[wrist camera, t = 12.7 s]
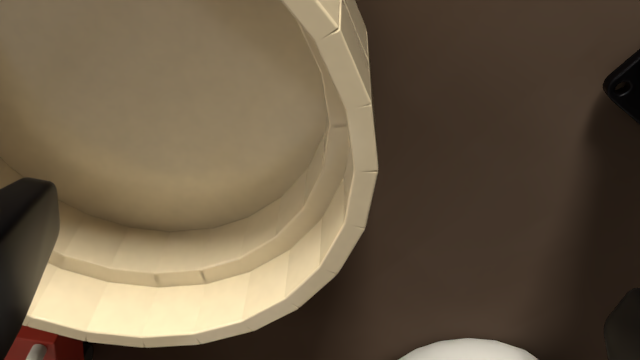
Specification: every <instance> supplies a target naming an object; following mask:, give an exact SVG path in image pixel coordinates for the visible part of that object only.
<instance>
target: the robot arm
mask: <svg viewBox="0 0 640 360" xmlns="http://www.w3.org/2000/svg"><path fill="white" fill-rule="evenodd" d="M621 82H626V83H625V85H624V86H623V87H622V88H620V89H618V90H615V87H616V86H617V85H618V84H619V83H621ZM603 90H604V91H605V93H606V94H607V96H608V97H609V98H610V99H611V100H612V101H613V102H614V103H615V104H617V105H618V106H619V107H620V108H621V109H622V110H623V111H625V112H626V113H627V114H628V115H629V116H630V117H632V118H633V119H634V120H635V121H636V122H637V123H639V124H640V49H639V50H638V51H637V52H636V53H635V54H633V55H632V56H631V57H630V58H629V59H627V60H626V61H625V62H624V63H623V64H621V65H620V66H619V67H618V68H617V69H616V70H614V71H613V72H612V73H611V74H610V75H609V76H608V77H607V78H606V79H605V81H604V83H603ZM59 230H60V217H59V206H58V195H57V188H56V186H55V184H54V183H53V182H51V181H47V180H41V179H36V178H30V177H25V178H22V179H19V180H17V181H15V182H13V183H11V184H9V185H7V186H5V187H3V188H1V189H0V360H4V359H5V357H6V355H7V353H8V351H9V350H10V348H11V346H12V344H13V342H14V340H15V338H16V336H17V334H18V333H19V331H20V329H21V326H22V324H23V322H24V319H25V317H26V315H27V312H28V310H29V308H30V305H31V303H32V300H33V298H34V295H35V293H36V290H37V288H38V285H39V283H40V280H41V278H42V276H43V273H44V271H45V268H46V266H47V263H48V261H49V258H50V256H51V253H52V251H53V248H54V246H55V244H56V241H57V238H58V235H59ZM604 338H605V344H606V349H607V355H608V360H640V288H634V289H632V290H630V291H628V292H627V294H626V295H625V296H624V297H623V299H622V300H621V301H620V302H619V304H618V305H617V306H616V307H615V309H614V310H613V311H612V312H611V314H610V315H609V316H608V318H607V319H606V321H605V325H604Z"/></svg>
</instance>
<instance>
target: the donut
mask: <svg viewBox="0 0 640 360" xmlns="http://www.w3.org/2000/svg"><path fill="white" fill-rule="evenodd" d="M399 360H539V359H537V358H536V357H534V356H533V355H531V354H530V353H529V352H527V351H526V350H523V349H520V348H517V347H514V346H511V345H508V344H505V343H502V342H499V341H496V340H485V339H474V338H464V339H454V340H445V341H439V342H436V343H433V344H430V345H427V346H423V347H420V348H417V349H415V350H413V351H412V352H410V353H408V354H407V355H405V356H403V357H402V358H400V359H399Z"/></svg>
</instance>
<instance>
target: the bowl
mask: <svg viewBox="0 0 640 360" xmlns="http://www.w3.org/2000/svg"><path fill="white" fill-rule="evenodd" d="M378 169H379V166H378V153H377V139H376V126H375V112H374V99H373V86H372V76H371V66H370V56H369V46H368V36H367V32H366V27H365V24H364V22H363V19H362V17H361V14H360V12H359V9H358V7H357V4H356V2H355V0H0V189H1V188H3V187H5V186H7V185H9V184H11V183H13V182H15V181H17V180H19V179H22V178H25V177H30V178H36V179H41V180H47V181H51V182H53V183H54V184H55V186H56V188H57V195H58V206H59V217H60V230H59V235H58V238H57V241H56V244H55V246H54V248H53V251H52V253H51V256H50V258H49V261H48V263H47V266H46V268H45V271H44V273H43V276H42V278H41V280H40V283H39V285H38V288H37V290H36V293H35V295H34V298H33V300H32V303H31V305H30V308H29V310H28V312H27V315H26V317H25V319H24V322H23V324H22V325H23V326H28V327H31V328H35V329H39V330H42V331H46V332H50V333H54V334H58V335H62V336H65V337H69V338H73V339H77V340H81V341H86V340H87V342H92V343H101V344H111V345H120V346H130V347H139V348H144V347H146V348H155V347H171V346H188V345H199V344H206V343H210V342H214V341H217V340H221V339H225V338H229V337H233V336H237V335H241V334H245V333H249V332H252V331H256V330H258V329H260V328H262V327H264V326H266V325H268V324H270V323H272V322H274V321H276V320H278V319H280V318H282V317H284V316H286V315H288V314H290V313H291V312H293V311H295V310H297V309H299V308H300V307H301V306H302V305H304V304H305V303H306V302H307V301H308V300H309V299H310V298H311V297H313V296H314V295H315V294H316V293H317V292H318V291H319V290H320V289H322V288H323V287H324V286H325V285H326V284H327V283H328V282H329V281H331V280H332V279H333V278H334V277H335V276H336V275H337V274H338V273H339V272H340V270H341V268H342V267H343V265H344V263H345V262H346V260H347V258H348V257H349V255H350V253H351V252H352V250H353V248H354V247H355V245H356V244H357V242H358V240H359V239H360V237H361V235H362V234H363V232H364V230H365V227H366V225H367V221H368V216H369V212H370V208H371V203H372V199H373V194H374V190H375V185H376V181H377V176H378Z"/></svg>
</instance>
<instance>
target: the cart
mask: <svg viewBox="0 0 640 360" xmlns="http://www.w3.org/2000/svg"><path fill="white" fill-rule="evenodd" d="M92 357H93V347H92V345H88V344H83V341H81V340H77V339H73V338H69V337H65V336H62V335H58V334H54V333H50V332H46V331H42V330H39V329H35V328H31V327H28V326H23V325H22V326H21V329H20V331H19V333H18V334H17V336H16V338H15V340H14V342H13V344H12V346H11V348H10V350H9V351H8V353H7V355H6V357H5V359H4V360H92Z"/></svg>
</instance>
